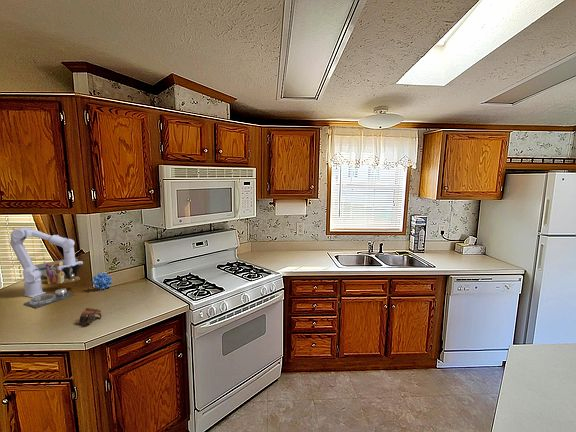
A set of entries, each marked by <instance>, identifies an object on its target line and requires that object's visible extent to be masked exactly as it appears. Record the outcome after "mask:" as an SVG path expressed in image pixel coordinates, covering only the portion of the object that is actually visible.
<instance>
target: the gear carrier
mask: <svg viewBox="0 0 576 432" xmlns="http://www.w3.org/2000/svg"><path fill="white" fill-rule="evenodd" d="M73 296H75V295H74V293H71V292H67V288H65V287H63V288H58V289H56V290H55V292H54V293H51V294H50V293H49V294H46V293H45V294H41V295H38V296H35V297H31V299H29V301H26V302H24V303H23V305H24V306H28V307H31V308H35V309H39V308H42V307H45V306H47V305H51V304H54V303H56V302H59V301H63V300H65V299H68V298H71V297H73Z"/></svg>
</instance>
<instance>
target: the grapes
mask: <svg viewBox="0 0 576 432" xmlns="http://www.w3.org/2000/svg"><path fill="white" fill-rule="evenodd" d="M91 281H92V282H91V283H92V285H94V287H95V289H100V290H102V291H103V289H104V290H105V289H109V288H110V287H111V285H112V284H113V280H112V276H111V275H108V273H107V272H104V273H102V272H98V273H97V274H96V275H94V276H93V280H91ZM108 287H109V288H108Z"/></svg>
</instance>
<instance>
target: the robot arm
mask: <svg viewBox="0 0 576 432" xmlns="http://www.w3.org/2000/svg"><path fill="white" fill-rule="evenodd" d="M9 236H10V239H9V240H10V241H9V244H10V247H11V248H12V250H13V252H14V254H15V256H16V258H17V260H18V261H19V263H20V266H21V267H22V269H23V270H22V271H23V272H22V274H23V280H24V282H25V283H24V284H23V289H24V294H23V296H25V297H29V298H35V297H38V296H41V295H45V294H46V291H43V284H42V279H41V277H42V276H43V275H42V271H41V270H39V269H38V268H37V267H36V266H35V265H36V264H34V262H33V261H32V259H31V256H30V255H29V253H28V251H27V249H26V247H25V245H24V241H25V240H26V239H27V238H32V237H34V238H38V239H42V240H46V241H48V243H49V244H52V245H54V246H58V247H61V248H62V249H63V258H64V259H63V260H64V261H65V265H62V266H59V267H57V269H58V270H61V269H62V271H63V272H64V273H65V277H66V278H68V279H69V278H70V274H71V273H70V269H68V267H72V270H73V271H72V273H75V277H77V276H78V271H79V269H80V267H81V266H80V265H83V264H84V262H83V261H82V260H80V261H79V260H78V261H75V258H76V252H75V247H74V246H75V244H76V242H75V240H74V239H72V238H67V237H63V236H60V235H59V234H53V235H50V234H49V233H48V234H47V233H44V232H43V231H40V230H37V229H35V228H32V227H28V226H21V227H20V228H16V229H13V230H12V231H11V233H10V235H9Z"/></svg>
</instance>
